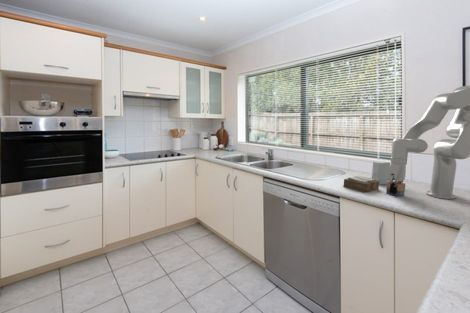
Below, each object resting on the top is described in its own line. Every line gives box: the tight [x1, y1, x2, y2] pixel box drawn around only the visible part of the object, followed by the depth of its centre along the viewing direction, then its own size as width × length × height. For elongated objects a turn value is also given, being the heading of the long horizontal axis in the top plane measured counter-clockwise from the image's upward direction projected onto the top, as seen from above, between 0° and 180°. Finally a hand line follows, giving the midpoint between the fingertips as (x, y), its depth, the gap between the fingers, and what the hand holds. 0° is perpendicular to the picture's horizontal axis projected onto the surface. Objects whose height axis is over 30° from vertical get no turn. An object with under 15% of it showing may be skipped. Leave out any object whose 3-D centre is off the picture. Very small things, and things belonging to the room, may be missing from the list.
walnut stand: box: [343, 175, 380, 193], centre depth 152 cm, size 14×14×6 cm
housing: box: [386, 181, 406, 198], centre depth 138 cm, size 5×7×7 cm
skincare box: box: [371, 160, 391, 186], centre depth 162 cm, size 8×6×15 cm
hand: (395, 192), depth 139 cm, fingers closed on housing, 5 cm apart
